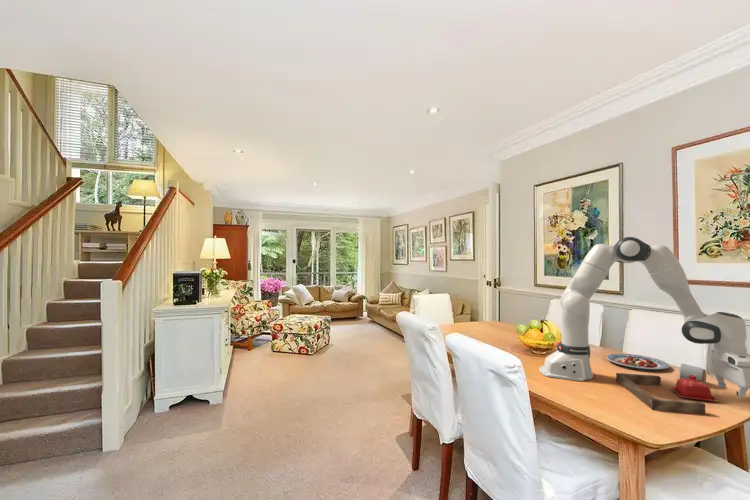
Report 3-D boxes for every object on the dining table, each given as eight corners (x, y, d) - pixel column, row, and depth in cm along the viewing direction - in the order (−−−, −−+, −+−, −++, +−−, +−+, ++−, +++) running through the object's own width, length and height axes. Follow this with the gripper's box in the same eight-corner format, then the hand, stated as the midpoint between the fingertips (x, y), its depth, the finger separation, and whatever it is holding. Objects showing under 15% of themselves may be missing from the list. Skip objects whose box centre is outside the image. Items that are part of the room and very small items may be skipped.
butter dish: (669, 389, 144) (668, 369, 144) (705, 393, 140) (704, 372, 140) (680, 399, 134) (679, 377, 134) (719, 404, 129) (718, 382, 129)
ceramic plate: (620, 355, 195) (620, 349, 195) (678, 367, 173) (678, 361, 173) (596, 362, 181) (596, 356, 182) (655, 376, 159) (655, 370, 159)
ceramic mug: (705, 387, 145) (704, 369, 145) (679, 382, 151) (678, 365, 151) (707, 382, 152) (707, 364, 152) (683, 377, 158) (682, 360, 158)
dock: (652, 409, 125) (652, 399, 125) (616, 380, 154) (616, 372, 154) (705, 414, 121) (705, 404, 121) (658, 383, 150) (658, 375, 150)
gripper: (702, 348, 143) (702, 381, 142) (740, 362, 123) (741, 402, 122) (720, 349, 141) (721, 383, 141) (762, 364, 121) (763, 403, 121)
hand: (731, 392), depth 131 cm, fingers open, 8 cm apart
